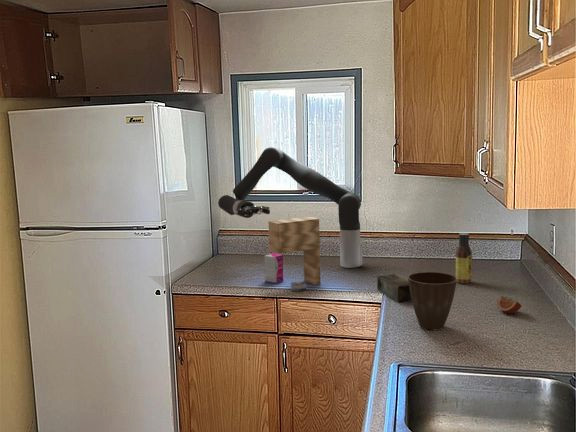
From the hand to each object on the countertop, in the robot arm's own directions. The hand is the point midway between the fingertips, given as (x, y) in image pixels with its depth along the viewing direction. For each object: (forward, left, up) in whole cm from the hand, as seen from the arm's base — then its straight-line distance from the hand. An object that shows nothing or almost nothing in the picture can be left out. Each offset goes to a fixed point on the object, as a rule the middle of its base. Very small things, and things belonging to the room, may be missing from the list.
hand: (260, 212), depth 253 cm
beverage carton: (-28, +56, -29) cm, 69 cm away
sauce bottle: (-62, +57, -28) cm, 89 cm away
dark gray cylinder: (-1, +29, -28) cm, 40 cm away
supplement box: (0, +11, -28) cm, 30 cm away
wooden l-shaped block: (-4, +21, -28) cm, 35 cm away
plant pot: (-15, +89, -28) cm, 95 cm away
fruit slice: (-46, +93, -28) cm, 108 cm away
